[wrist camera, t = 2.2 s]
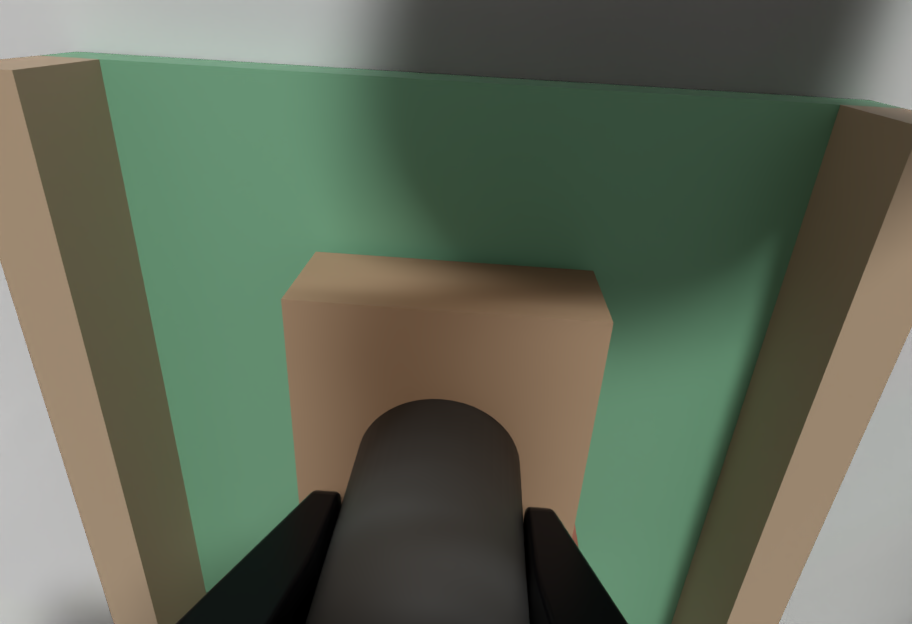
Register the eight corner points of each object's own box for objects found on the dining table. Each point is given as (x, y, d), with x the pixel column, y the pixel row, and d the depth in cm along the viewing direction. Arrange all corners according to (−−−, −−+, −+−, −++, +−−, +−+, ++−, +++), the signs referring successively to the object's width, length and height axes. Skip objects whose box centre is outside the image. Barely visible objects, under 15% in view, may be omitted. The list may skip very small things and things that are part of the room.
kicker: (621, 272, 11) (803, 641, 4) (564, 569, 14) (621, 1012, 8) (288, 249, 11) (11, 575, 5) (311, 548, 14) (172, 967, 8)
